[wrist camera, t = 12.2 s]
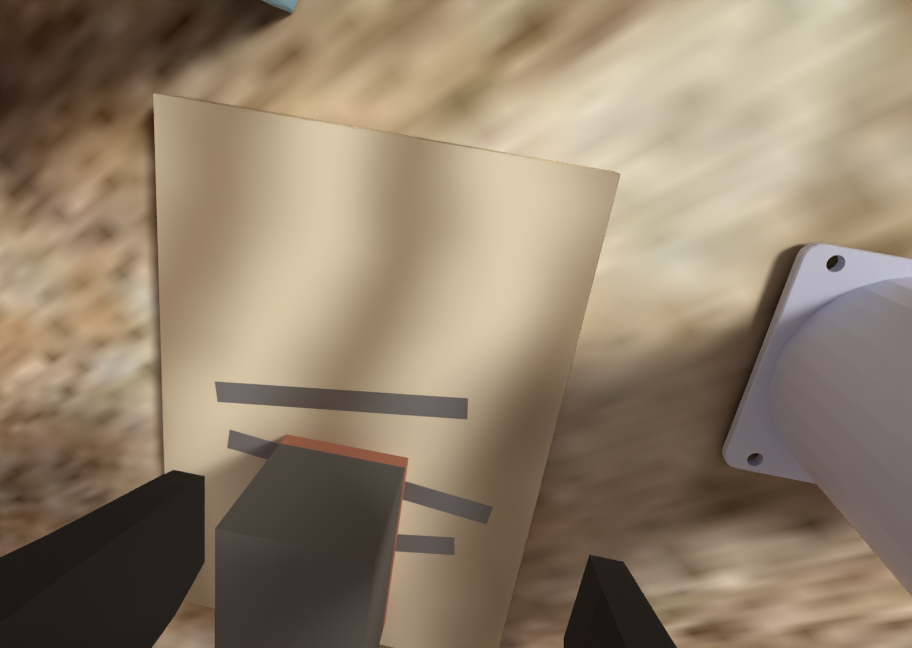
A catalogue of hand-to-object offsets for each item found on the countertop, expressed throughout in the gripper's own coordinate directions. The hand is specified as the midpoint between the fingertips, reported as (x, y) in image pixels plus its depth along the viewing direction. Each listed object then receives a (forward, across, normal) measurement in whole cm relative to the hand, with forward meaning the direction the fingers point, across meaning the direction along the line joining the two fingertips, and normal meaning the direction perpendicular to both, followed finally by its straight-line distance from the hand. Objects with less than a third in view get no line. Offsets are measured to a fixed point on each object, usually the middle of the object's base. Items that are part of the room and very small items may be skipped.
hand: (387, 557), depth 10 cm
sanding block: (+9, +3, +8) cm, 12 cm away
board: (+10, +3, +3) cm, 11 cm away
